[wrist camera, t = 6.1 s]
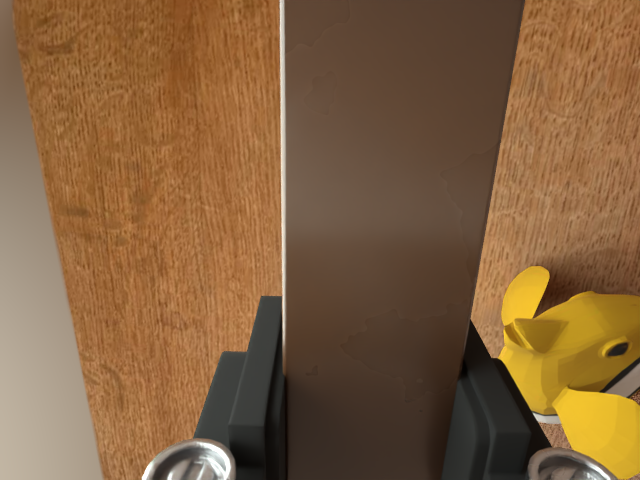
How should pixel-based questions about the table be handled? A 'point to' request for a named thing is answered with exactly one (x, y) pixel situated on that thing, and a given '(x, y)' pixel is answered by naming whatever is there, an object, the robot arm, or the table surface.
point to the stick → (384, 221)
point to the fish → (578, 367)
